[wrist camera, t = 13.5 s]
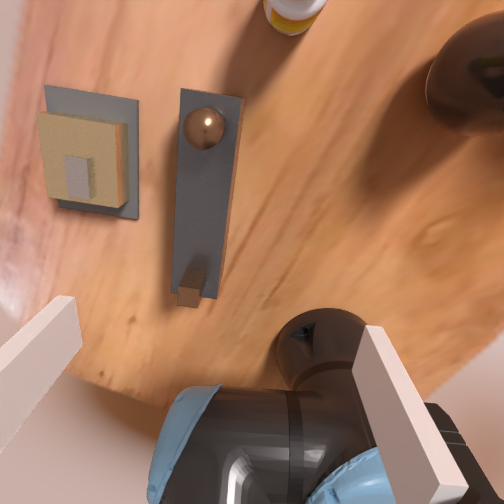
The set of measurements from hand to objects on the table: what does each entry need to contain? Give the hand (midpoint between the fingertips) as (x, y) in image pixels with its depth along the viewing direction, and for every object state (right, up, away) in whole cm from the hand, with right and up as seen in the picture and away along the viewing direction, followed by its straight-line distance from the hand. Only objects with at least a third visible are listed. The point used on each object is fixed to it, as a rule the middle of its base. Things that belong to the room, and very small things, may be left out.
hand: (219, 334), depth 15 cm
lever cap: (-17, +15, +23) cm, 32 cm away
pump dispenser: (+23, +22, +19) cm, 37 cm away
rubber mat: (-17, +15, +24) cm, 33 cm away
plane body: (-4, +11, +25) cm, 28 cm away
